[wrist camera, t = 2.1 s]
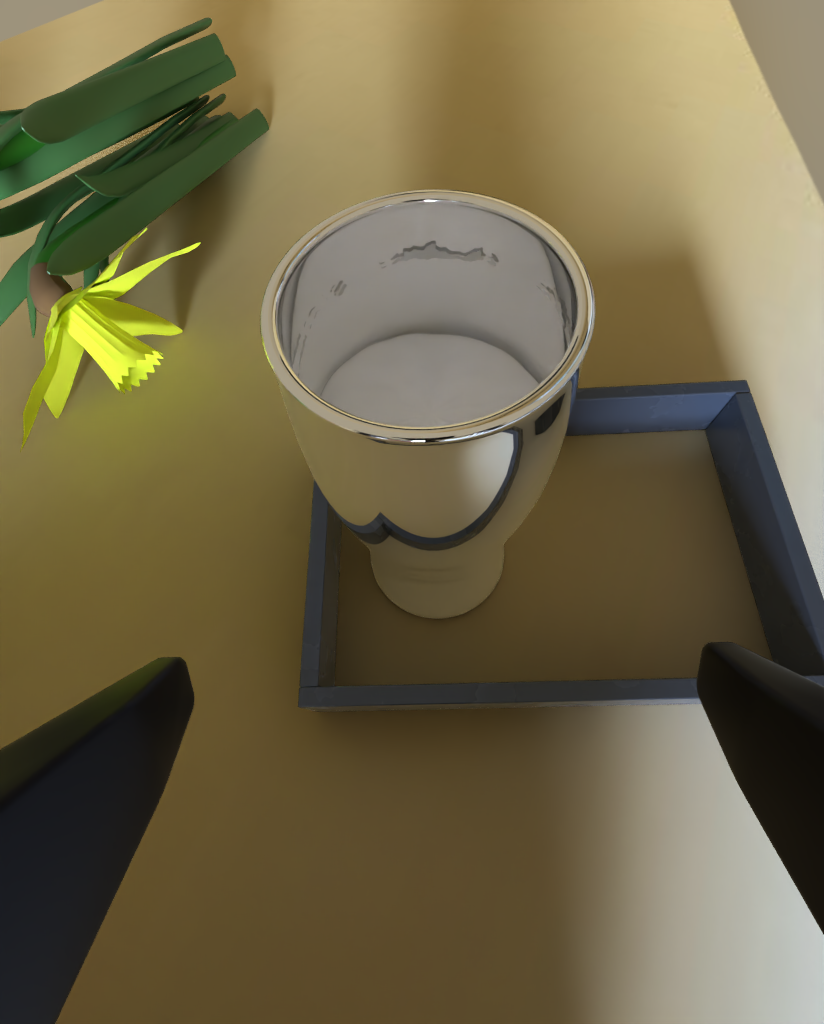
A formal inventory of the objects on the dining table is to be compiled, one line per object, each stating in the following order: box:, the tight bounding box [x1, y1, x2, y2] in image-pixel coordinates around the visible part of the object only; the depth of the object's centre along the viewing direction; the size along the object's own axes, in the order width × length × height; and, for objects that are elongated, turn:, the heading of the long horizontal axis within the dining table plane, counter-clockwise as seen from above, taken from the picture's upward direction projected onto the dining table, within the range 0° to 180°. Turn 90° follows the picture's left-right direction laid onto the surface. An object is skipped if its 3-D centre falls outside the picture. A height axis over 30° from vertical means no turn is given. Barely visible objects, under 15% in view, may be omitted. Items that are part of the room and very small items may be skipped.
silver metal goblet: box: [260, 189, 595, 619], centre depth 17 cm, size 7×7×15 cm
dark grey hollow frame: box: [298, 380, 824, 712], centre depth 22 cm, size 13×19×3 cm
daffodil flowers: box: [0, 18, 269, 452], centre depth 26 cm, size 17×15×35 cm
